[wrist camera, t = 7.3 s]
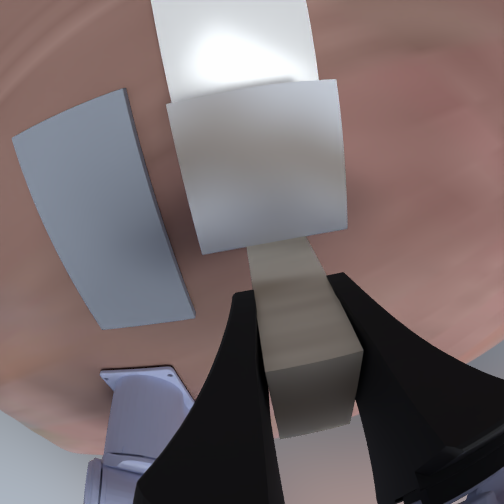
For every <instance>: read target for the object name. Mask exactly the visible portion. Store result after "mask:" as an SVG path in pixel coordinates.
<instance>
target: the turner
mask: <svg viewBox="0 0 504 504" xmlns="http://www.w3.org/2000/svg"><path fill="white" fill-rule="evenodd" d="M166 107H167V111H168V116H169V121H170V126H171V130H172V135H173V139H174V144H175V148H176V152H177V157H178V161H179V165H180V170H181V174H182V178H183V182H184V186H185V190H186V194H187V198H188V202H189V206H190V210H191V214H192V218H193V222H194V226H195V229H196V233H197V237H198V241H199V244H200V248H201V252H202V255H205V254H210V253H216V252H221V251H227V250H232V249H237V248H243V247H247V253H248V260H249V266H250V273H251V280H252V287H253V290H254V294H255V301H256V308H257V321H258V328H259V334H260V341H261V348H262V354H263V361H264V368H265V374H266V378H267V383H268V387H269V392H270V396H271V401H272V405H273V410H274V414H275V418H276V423H277V427H278V432H279V436H280V439H284V438H290V437H295V436H300V435H305V434H309V433H314V432H318V431H323V430H327V429H331V428H335V427H339V426H343V425H346V424H350V421H351V416H352V412H353V407H354V402H355V397H356V392H357V386H358V381H359V375H360V369H361V363H362V357H363V348H362V346H361V344H360V342H359V340H358V338H357V336H356V334H355V331H354V329H353V327H352V325H351V323H350V321H349V319H348V317H347V315H346V313H345V311H344V309H343V307H342V305H341V303H340V301H339V299H338V298H337V296H336V295H335V293H334V291H333V289H332V287H331V285H330V283H329V281H328V279H327V277H326V276H327V275H326V273H325V271H324V270H323V268H322V266H321V264H320V262H319V260H318V258H317V256H316V254H315V252H314V251H313V249H312V247H311V245H310V243H309V241H308V239H307V238H306V236H310V235H315V234H321V233H326V232H332V231H338V230H343V229H347V196H346V175H345V160H344V146H343V135H342V124H341V115H340V106H339V97H338V89H337V82H336V79H331V80H313V81H299V82H289V83H279V84H270V85H262V86H255V87H248V88H242V89H236V90H230V91H224V92H219V93H214V94H209V95H204V96H199V97H194V98H190V99H186V100H181V101H177V102H173V103H169V104H166Z"/></svg>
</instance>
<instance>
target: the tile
mask: <svg viewBox="0 0 504 504" xmlns="http://www.w3.org/2000/svg"><path fill="white" fill-rule="evenodd" d="M151 3H152V9H153V14H154V20H155V25H156V30H157V36H158V41H159V46H160V51H161V56H162V60H163V65H164V70H165V75H166V79H167V84H168V88H169V93H170V97H171V102H172V103H173V102H177V101H181V100H186V99H190V98H194V97H199V96H204V95H209V94H214V93H219V92H224V91H230V90H236V89H242V88H248V87H255V86H262V85H270V84H279V83H289V82H299V81H313V80H319V78H318V71H317V64H316V57H315V50H314V44H313V37H312V31H311V26H310V20H309V14H308V9H307V4H306V0H151Z"/></svg>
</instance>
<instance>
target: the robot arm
mask: <svg viewBox="0 0 504 504" xmlns="http://www.w3.org/2000/svg"><path fill="white" fill-rule="evenodd" d="M326 277H327V279H328V281H329V283H330V285H331V287H332V289H333V291H334V293H335V295H336V296H337V298H338V299H339V301H340V303H341V305H342V307H343V309H344V311H345V313H346V315H347V317H348V319H349V321H350V323H351V325H352V327H353V329H354V331H355V334H356V336H357V338H358V340H359V342H360V344H361V346H362V348H363V357H362V363H361V369H360V375H359V381H358V386H357V392H356V397H355V400H356V403H357V406H358V409H359V413H360V417H361V421H362V424H363V428H364V432H365V437H366V441H367V446H368V450H369V455H370V460H371V465H372V471H373V477H374V483H375V490H376V499H377V503H378V504H397V503H400V502H402V501H404V504H451V503H453V502H455V501H457V500H459V499H460V498H462V497H464V496H466V495H467V494H468V495H467V499H466V500H465V501H463V502H461V503H458V504H504V380H503V379H500V378H498V377H495V376H492V375H489V374H487V373H484V372H482V371H480V370H478V369H476V368H473V367H471V366H469V365H467V364H465V363H463V362H461V361H459V360H457V359H456V358H454V357H452V356H450V355H448V354H446V353H445V352H443V351H441V350H439V349H438V348H436V347H434V346H433V345H431V344H430V343H428V342H427V341H425V340H424V339H422V338H421V337H419V336H418V335H416V334H415V333H414V332H412V331H411V330H410V329H408V328H407V327H406V326H404V325H403V324H402V323H401V322H399V321H398V320H397V319H395V318H394V317H393V316H392V315H391V314H389V313H388V312H387V311H386V310H385V309H384V308H382V307H381V306H380V305H379V304H378V303H377V302H375V301H374V300H373V299H372V298H371V297H370V296H369V295H368V294H367V293H365V292H364V291H363V290H362V289H361V288H360V287H359V286H358V285H357V284H356V283H355V282H354V281H352V280H351V279H350V278H349V277H348V276H347V275H346V274H345V273H343V272H342V273H337V274H332V275H327V276H326ZM100 376H101V377H102V378H103V380H104V381H105V382H106V383H107V384H108V385H109V386H110V387H111V389H112V390H113V391H114V394H113V399H112V404H111V410H110V416H109V422H108V428H107V434H106V441H105V448H104V455H103V457H102V460H101V459H98V458H94V460H92V461H90V462H89V463H88V469H87V476H86V484H85V494H84V504H285V502H284V496H283V491H282V485H281V480H280V474H279V468H278V463H277V457H276V450H275V444H274V438H273V432H272V426H271V418H270V405H269V389H268V383H267V378H266V374H265V368H264V361H263V354H262V348H261V341H260V334H259V328H258V321H257V308H256V301H255V294H254V290H249V291H243V292H237V293H235V294H234V295H233V297H232V304H231V309H230V314H229V318H228V322H227V325H226V329H225V332H224V335H223V338H222V341H221V344H220V347H219V350H218V352H217V355H216V358H215V360H214V363H213V365H212V368H211V370H210V372H209V375H208V377H207V379H206V381H205V383H204V385H203V387H202V389H201V391H200V393H199V395H198V397H197V399H196V401H195V402H194V400H193V399H192V397H191V396H190V394H189V393H188V391H187V389H186V388H185V386H184V385H183V383H182V382H181V380H180V379H179V377H178V375H177V374H176V372H175V371H174V369H173V368H172V367H169V366H166V367H155V368H141V369H125V370H103V371H100Z"/></svg>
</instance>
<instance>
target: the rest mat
mask: <svg viewBox="0 0 504 504" xmlns="http://www.w3.org/2000/svg"><path fill="white" fill-rule="evenodd" d="M12 141H13V144H14V148H15V151H16V154H17V157H18V160H19V163H20V166H21V169H22V172H23V174H24V177H25V180H26V183H27V185H28V188H29V190H30V193H31V196H32V198H33V201H34V203H35V205H36V208H37V210H38V212H39V215H40V217H41V219H42V222H43V224H44V226H45V228H46V230H47V233H48V235H49V237H50V239H51V241H52V243H53V245H54V247H55V249H56V251H57V253H58V255H59V257H60V259H61V261H62V263H63V265H64V267H65V268H66V270H67V272H68V274H69V276H70V278H71V279H72V281H73V283H74V285H75V287H76V288H77V290H78V292H79V293H80V295H81V297H82V299H83V300H84V302H85V304H86V305H87V307H88V308H89V310H90V312H91V313H92V315H93V316H94V318H95V320H96V321H97V323H98V324H99V326H100V327H101V329H102V330H106V329H115V328H124V327H133V326H141V325H149V324H157V323H164V322H172V321H179V320H186V319H193V318H195V314H196V312H195V310H194V307H193V304H192V302H191V299H190V297H189V294H188V291H187V289H186V286H185V283H184V281H183V278H182V275H181V272H180V270H179V267H178V264H177V261H176V258H175V256H174V253H173V250H172V247H171V244H170V241H169V238H168V235H167V232H166V229H165V226H164V223H163V220H162V217H161V214H160V211H159V207H158V204H157V201H156V198H155V195H154V191H153V188H152V185H151V181H150V178H149V175H148V171H147V168H146V164H145V161H144V157H143V154H142V150H141V146H140V143H139V139H138V135H137V131H136V127H135V124H134V120H133V116H132V112H131V107H130V103H129V99H128V95H127V90H126V88H122V89H119V90H117V91H114V92H111V93H108V94H105V95H103V96H100V97H97V98H95V99H92V100H90V101H87V102H85V103H82V104H80V105H78V106H75V107H73V108H71V109H68V110H66V111H64V112H62V113H60V114H57V115H55V116H53V117H51V118H49V119H47V120H45V121H43V122H41V123H39V124H37V125H35V126H33V127H31V128H29V129H27V130H25V131H24V132H22V133H20V134H18V135H16V136H15V137H13V138H12Z"/></svg>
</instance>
